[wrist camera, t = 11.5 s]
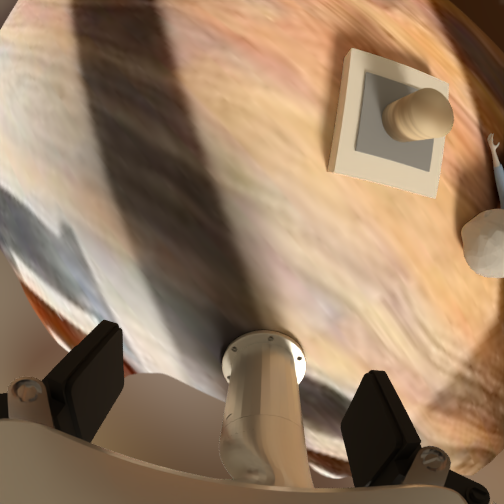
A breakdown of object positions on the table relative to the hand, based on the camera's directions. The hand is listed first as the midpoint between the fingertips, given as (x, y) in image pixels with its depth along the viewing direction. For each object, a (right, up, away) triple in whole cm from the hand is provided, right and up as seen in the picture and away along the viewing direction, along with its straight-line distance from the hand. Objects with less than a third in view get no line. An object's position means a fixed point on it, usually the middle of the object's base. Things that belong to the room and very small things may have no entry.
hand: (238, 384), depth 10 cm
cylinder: (+18, +20, +20) cm, 33 cm away
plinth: (+18, +21, +24) cm, 37 cm away
